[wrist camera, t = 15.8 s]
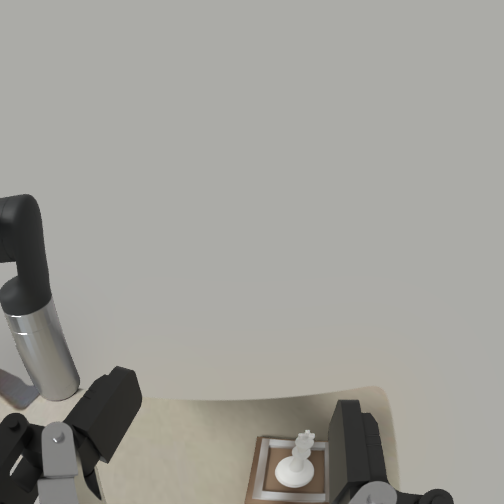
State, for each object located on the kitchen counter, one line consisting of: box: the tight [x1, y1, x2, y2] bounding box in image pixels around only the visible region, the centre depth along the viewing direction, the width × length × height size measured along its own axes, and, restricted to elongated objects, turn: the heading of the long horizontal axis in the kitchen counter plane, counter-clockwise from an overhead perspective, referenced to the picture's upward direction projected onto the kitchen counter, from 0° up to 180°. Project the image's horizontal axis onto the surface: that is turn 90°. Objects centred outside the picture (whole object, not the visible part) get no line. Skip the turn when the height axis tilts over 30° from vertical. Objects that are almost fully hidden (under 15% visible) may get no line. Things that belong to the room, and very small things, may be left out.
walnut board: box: [245, 437, 329, 504], centre depth 29 cm, size 11×11×2 cm
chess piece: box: [275, 430, 315, 488], centre depth 27 cm, size 5×5×10 cm
